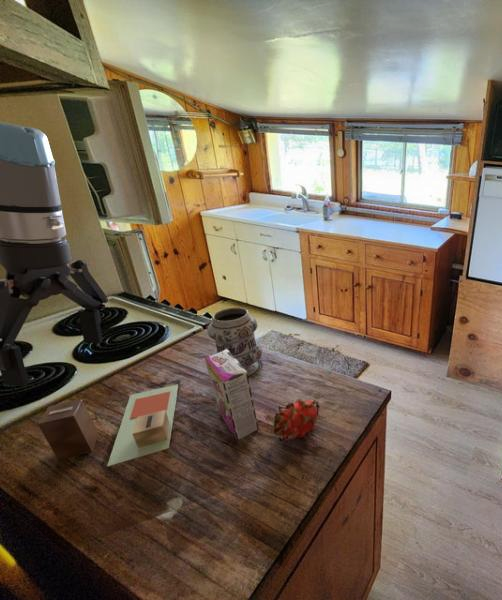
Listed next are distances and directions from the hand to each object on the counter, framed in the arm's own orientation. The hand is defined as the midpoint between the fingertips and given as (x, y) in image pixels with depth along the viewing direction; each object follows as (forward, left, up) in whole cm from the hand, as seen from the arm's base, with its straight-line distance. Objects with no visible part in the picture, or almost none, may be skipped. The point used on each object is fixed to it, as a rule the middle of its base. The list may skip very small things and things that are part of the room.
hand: (59, 360), depth 55 cm
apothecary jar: (+26, +18, -23) cm, 39 cm away
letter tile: (+8, +1, -22) cm, 24 cm away
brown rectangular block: (-5, +4, -23) cm, 24 cm away
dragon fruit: (+36, -10, -23) cm, 44 cm away
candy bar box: (+24, -2, -23) cm, 33 cm away
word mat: (+6, +7, -23) cm, 25 cm away
